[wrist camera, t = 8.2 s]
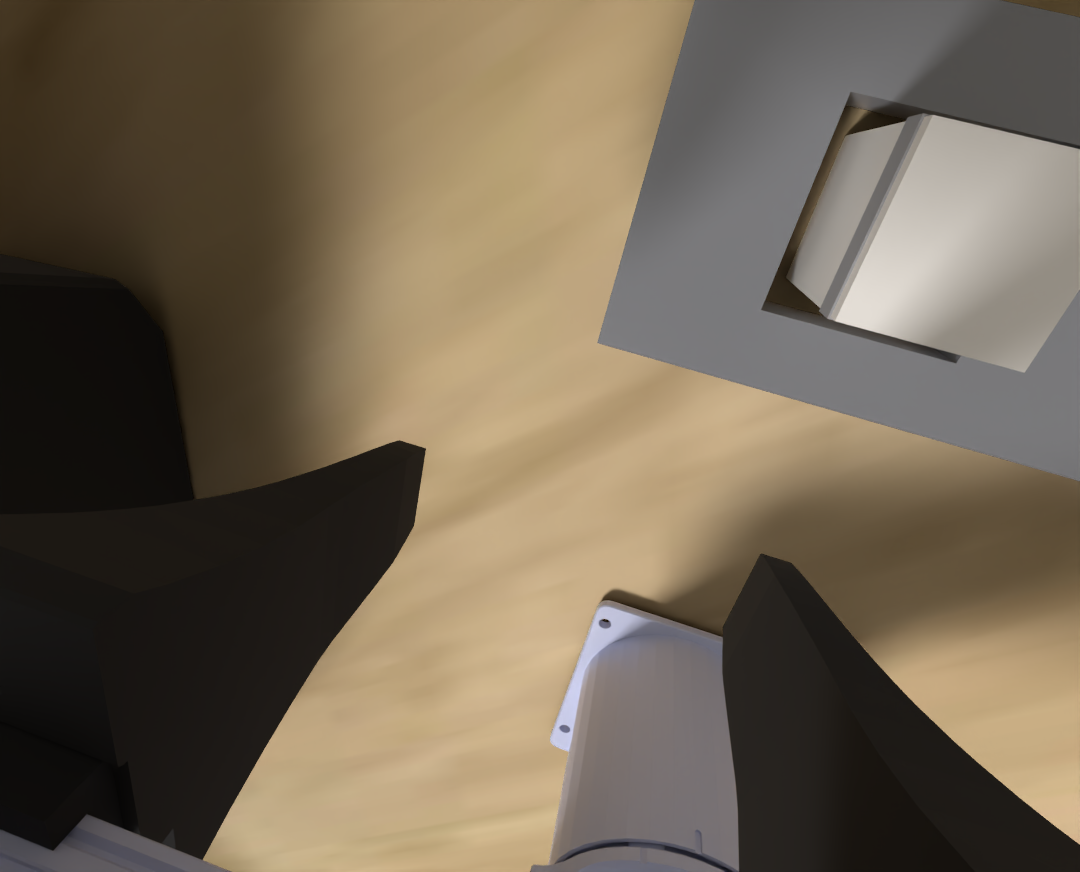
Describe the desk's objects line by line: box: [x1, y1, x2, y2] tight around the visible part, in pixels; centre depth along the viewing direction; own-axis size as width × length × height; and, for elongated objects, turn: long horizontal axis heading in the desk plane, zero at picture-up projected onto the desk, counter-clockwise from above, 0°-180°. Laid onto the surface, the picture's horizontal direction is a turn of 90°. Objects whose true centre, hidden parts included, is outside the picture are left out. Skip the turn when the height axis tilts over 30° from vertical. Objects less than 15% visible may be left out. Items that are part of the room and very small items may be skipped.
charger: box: [786, 113, 1080, 373], centre depth 14 cm, size 4×4×6 cm
